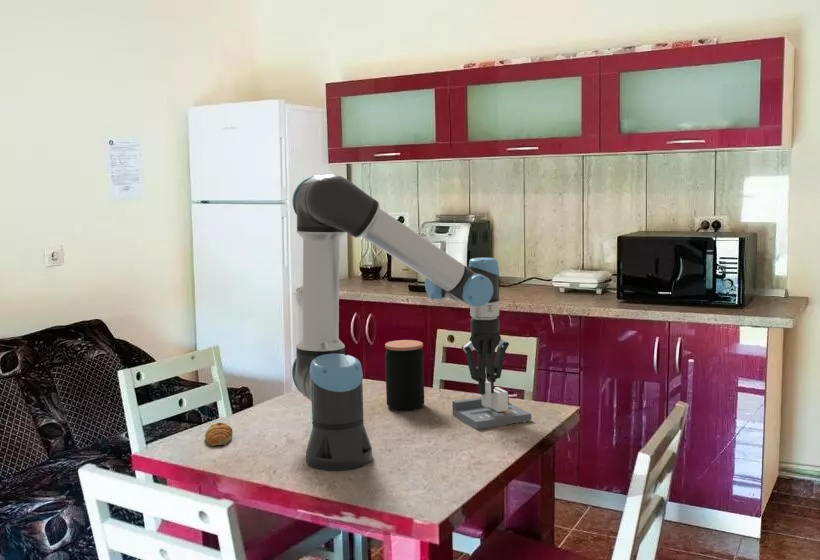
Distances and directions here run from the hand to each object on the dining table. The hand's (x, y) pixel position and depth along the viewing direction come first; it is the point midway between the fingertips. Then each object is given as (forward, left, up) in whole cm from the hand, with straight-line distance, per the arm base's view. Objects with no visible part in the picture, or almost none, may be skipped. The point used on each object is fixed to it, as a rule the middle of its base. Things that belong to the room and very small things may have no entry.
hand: (486, 405), depth 216 cm
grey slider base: (+1, 0, -4) cm, 4 cm away
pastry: (-67, +14, -4) cm, 69 cm away
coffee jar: (-15, +21, -4) cm, 26 cm away
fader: (+3, 0, -1) cm, 4 cm away
